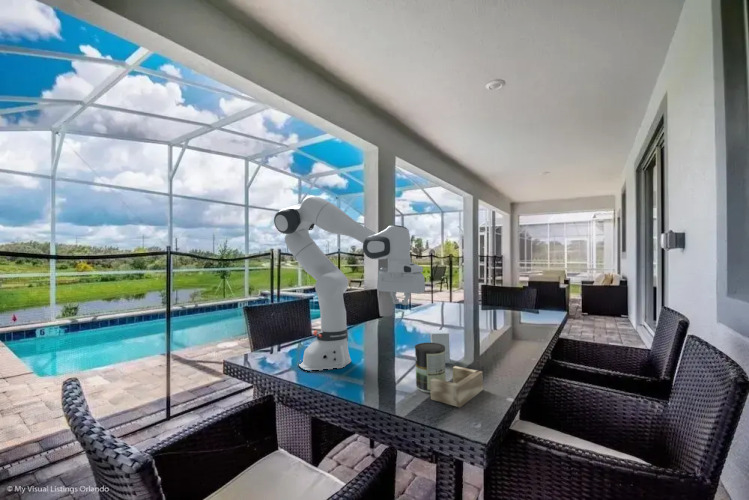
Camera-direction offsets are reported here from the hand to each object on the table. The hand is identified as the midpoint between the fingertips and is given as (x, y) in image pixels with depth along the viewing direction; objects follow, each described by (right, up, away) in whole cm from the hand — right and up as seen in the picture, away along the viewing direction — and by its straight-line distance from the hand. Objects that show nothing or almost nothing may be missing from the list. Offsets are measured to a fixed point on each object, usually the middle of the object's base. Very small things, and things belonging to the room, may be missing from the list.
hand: (400, 304), depth 130 cm
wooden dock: (+17, -26, -18) cm, 36 cm away
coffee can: (+10, -27, -12) cm, 31 cm away
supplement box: (+18, -27, +17) cm, 37 cm away
